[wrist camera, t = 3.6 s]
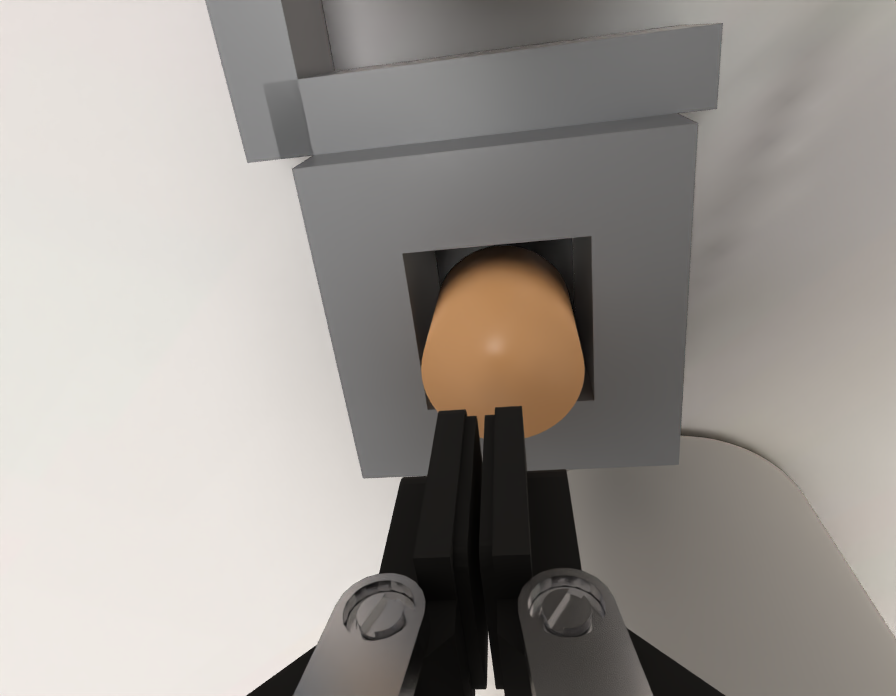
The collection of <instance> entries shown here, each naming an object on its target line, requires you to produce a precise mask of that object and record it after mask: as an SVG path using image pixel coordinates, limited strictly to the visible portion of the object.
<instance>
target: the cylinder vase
mask: <svg viewBox="0 0 896 696" xmlns="http://www.w3.org/2000/svg"><path fill="white" fill-rule="evenodd" d="M567 476H568V483H569V489H570V496H571V502H572V509H573V515H574V522H575V528H576V535H577V541H578V548H579V554H580V561H581V567H582V571H585V572H587V573H589V574H591V575H593V576H595V577H597V578H598V579H600V580H601V581H602V582H603V583H604V584H605V585H606V586H607V587H608V588H609V590H610V591H611V593H612V595H613V596H614V598H615V601H616V603H617V606H618V608H619V611H620V613H621V616H622V618H623V621H624V623H625V626H626V628H628V629H629V630H631V631H632V632H634V633H635V634H637V635H638V636H640V637H641V638H642V639H644V640H645V641H647V642H648V643H650V644H651V645H653V646H654V647H656V648H657V649H658V650H660V651H661V652H663V653H664V654H666V655H667V656H669V657H670V658H672V659H673V660H674V661H676V662H677V663H679V664H680V665H682V666H683V667H685V668H686V669H688V670H689V671H691V672H692V673H693V674H695V675H696V676H698V677H699V678H701V679H702V680H704V681H705V682H707V683H708V684H709V685H711V686H712V687H714V688H715V689H717V690H718V691H720V692H721V693H723V694H724V695H725V696H896V638H895V637H894V635H893V634H892V632H891V630H890V629H889V627H888V626H887V624H886V623H885V621H884V619H883V618H882V616H881V615H880V613H879V612H878V610H877V609H876V607H875V605H874V604H873V602H872V601H871V599H870V598H869V596H868V594H867V593H866V591H865V590H864V588H863V587H862V585H861V584H860V582H859V580H858V579H857V577H856V576H855V574H854V573H853V571H852V569H851V568H850V566H849V565H848V563H847V562H846V560H845V558H844V557H843V555H842V554H841V552H840V551H839V549H838V548H837V546H836V544H835V543H834V541H833V540H832V538H831V537H830V535H829V533H828V532H827V530H826V529H825V527H824V526H823V524H822V523H821V521H820V519H819V518H818V516H817V515H816V513H815V512H814V510H813V508H812V507H811V505H810V504H809V502H808V501H807V499H806V498H805V496H804V494H803V493H802V492H801V490H800V489H799V488H798V486H797V485H796V484H795V483H794V482H793V481H792V480H791V479H790V478H789V477H788V476H787V475H786V474H785V473H784V472H783V471H782V470H780V469H779V468H778V467H776V466H775V465H774V464H772V463H771V462H769V461H768V460H766V459H765V458H763V457H761V456H759V455H757V454H755V453H753V452H751V451H749V450H747V449H744V448H742V447H739V446H736V445H733V444H730V443H727V442H723V441H719V440H714V439H709V438H703V437H693V436H680V453H679V465H666V466H642V467H619V468H595V469H572V470H568V471H567Z"/></svg>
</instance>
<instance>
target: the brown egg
mask: <svg viewBox="0 0 896 696" xmlns="http://www.w3.org/2000/svg"><path fill="white" fill-rule="evenodd" d="M421 373H422V381H423V385H424V389H425V391H426V394H427V396H428V398H429V400H430V402H431V403H432V405H433V406H434V408H435V409H436V410H437V412H438V411H445V410H461V409H466V412H467V416H477V420H478V428H479V437H480V438H484V419H485V415H495V407H509V406H522V412H523V425H524V437H525V438H528V437H531V436H534V435H537V434H539V433H541V432H543V431H546V430H547V429H549V428H551V427H552V426H554V425H555V424H557V423H558V422H559V421H560V420H562V419H563V418H564V417H565V416H566V415H567V414H568V412H569V411H570V410H571V409H572V407H573V406H574V404H575V403H576V401H577V399H578V397H579V395H580V392H581V389H582V386H583V382H584V373H585V367H584V358H583V354H582V349H581V345H580V341H579V336H578V332H577V328H576V324H575V319H574V315H573V311H572V306H571V302H570V298H569V294H568V290H567V287H566V284H565V282H564V280H563V278H562V276H561V275H560V273H559V272H558V271H557V269H556V268H555V267H554V266H553V265H552V264H551V263H550V262H549V261H548V260H546V259H545V258H543V257H542V256H541V255H539V254H537V253H535V252H533V251H530V250H528V249H525V248H521V247H516V246H507V245H505V246H492V247H487V248H484V249H480V250H478V251H475V252H473V253H471V254H469V255H468V256H466V257H464V258H463V259H462V260H461V261H459V262H458V263H457V264H456V265H455V266H454V267H453V268H452V269H451V270H450V272H449V273H448V275H447V276H446V278H445V280H444V281H443V283H442V286H441V289H440V292H439V296H438V299H437V303H436V307H435V311H434V315H433V318H432V322H431V326H430V330H429V333H428V337H427V341H426V345H425V348H424V352H423V357H422V365H421Z"/></svg>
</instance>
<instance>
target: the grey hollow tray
mask: <svg viewBox="0 0 896 696" xmlns="http://www.w3.org/2000/svg"><path fill="white" fill-rule="evenodd" d="M205 1H206V5H207V9H208V13H209V17H210V21H211V24H212V28H213V32H214V36H215V40H216V44H217V47H218V51H219V55H220V59H221V63H222V67H223V71H224V74H225V78H226V82H227V86H228V90H229V94H230V97H231V101H232V105H233V109H234V113H235V117H236V120H237V124H238V128H239V132H240V136H241V140H242V144H243V147H244V151H245V155H246V159H247V163H251V162H259V161H268V160H277V159H285V158H294V157H303V156H312V155H313V156H312V157H310V158H309V159H307V160H305V161H304V162H302V163H301V164H299V165H297V166H296V167H294V168H293V169H292V171H293V176H294V180H295V184H296V189H297V193H298V198H299V202H300V206H301V211H302V215H303V219H304V224H305V228H306V232H307V237H308V241H309V245H310V250H311V254H312V258H313V263H314V267H315V272H316V276H317V280H318V285H319V289H320V293H321V298H322V302H323V306H324V311H325V315H326V319H327V324H328V328H329V332H330V337H331V341H332V345H333V350H334V354H335V359H336V363H337V367H338V372H339V376H340V380H341V385H342V389H343V393H344V398H345V402H346V406H347V411H348V415H349V419H350V424H351V428H352V433H353V437H354V441H355V446H356V450H357V454H358V459H359V463H360V467H361V472H362V476H363V478H383V477H406V476H427V474H428V468H429V462H430V456H431V451H432V445H433V439H434V433H435V427H436V421H437V416H438V412H437V410H436V409H435V408H434V406H433V405H432V403H431V402H430V400H429V398H428V396H427V394H426V391H425V389H424V385H423V381H422V373H421V365H422V357H423V352H424V348H425V345H426V341H427V337H428V333H429V330H430V326H431V322H432V318H433V315H434V311H435V307H436V303H437V299H438V296H439V292H440V284H439V277H438V269H437V262H436V255H435V250H445V249H456V248H467V247H478V246H489V245H500V244H511V243H521V242H532V241H543V240H554V239H565V238H572V242H573V272H574V303H575V317H574V319H575V324H576V328H577V332H578V336H579V341H580V345H581V349H582V354H583V358H584V367H585V373H584V382H583V386H582V389H581V392H580V395H579V397H578V399H577V401H576V403H575V404H574V406H573V407H572V409H571V410H570V411H569V412H568V414H567V415H566V416H565V417H564V418H563V419H562V420H560V421H559V422H558V423H557V424H555V425H554V426H552V427H551V428H549V429H547V430H546V431H543V432H541V433H539V434H537V435H534V436H531V437H528V438H525V450H526V462H527V471H538V470H558V469H566V470H572V469H595V468H619V467H642V466H666V465H679V453H680V435H681V418H682V400H683V382H684V364H685V346H686V328H687V310H688V292H689V275H690V257H691V239H692V221H693V203H694V185H695V167H696V149H697V131H698V123H696V122H694V121H692V120H690V119H688V118H686V117H684V116H682V115H680V114H677V113H685V112H694V111H702V110H711V109H717V100H718V85H719V70H720V56H721V41H722V26H723V23H715V24H692V25H678V26H671V27H663V28H656V29H648V30H641V31H633V32H626V33H618V34H611V35H603V36H596V37H588V38H581V39H573V40H566V41H558V42H551V43H543V44H536V45H528V46H521V47H513V48H506V49H498V50H491V51H483V52H476V53H468V54H461V55H453V56H446V57H438V58H431V59H423V60H416V61H408V62H401V63H393V64H386V65H378V66H371V67H363V68H356V69H348V70H341V71H334V66H333V60H332V55H331V49H330V44H329V39H328V33H327V28H326V23H325V17H324V12H323V7H322V1H321V0H205ZM483 441H484V438H480V445H481V454H482V462H483Z"/></svg>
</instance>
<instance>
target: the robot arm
mask: <svg viewBox="0 0 896 696" xmlns="http://www.w3.org/2000/svg"><path fill="white" fill-rule="evenodd" d="M488 633H489V640H490V648H491V655H492V663H493V670H494V678H495V685H496V689H504V693H505V696H725V695H724V694H723V693H721V692H720V691H718V690H717V689H715V688H714V687H712V686H711V685H709V684H708V683H707V682H705V681H704V680H702V679H701V678H699V677H698V676H696V675H695V674H693V673H692V672H691V671H689V670H688V669H686V668H685V667H683V666H682V665H680V664H679V663H677V662H676V661H674V660H673V659H672V658H670V657H669V656H667V655H666V654H664V653H663V652H661V651H660V650H658V649H657V648H656V647H654V646H653V645H651V644H650V643H648V642H647V641H645V640H644V639H642V638H641V637H640V636H638V635H637V634H635V633H634V632H632V631H631V630H629V629H628V628H626V626H625V623H624V621H623V618H622V616H621V613H620V611H619V608H618V606H617V603H616V601H615V598H614V596H613V595H612V593H611V591H610V590H609V588H608V587H607V586H606V585H605V584H604V583H603V582H602V581H601V580H600V579H598V578H597V577H595V576H593V575H591V574H589V573H587V572H585V571H582V567H581V561H580V554H579V548H578V541H577V535H576V528H575V522H574V515H573V509H572V502H571V496H570V489H569V483H568V476H567V471H566V469H558V470H538V471H527V462H526V450H525V437H524V425H523V412H522V406H509V407H495V415H485V419H484V441H483V462H482V454H481V445H480V437H479V428H478V420H477V416H467V412H466V409H461V410H445V411H438V416H437V421H436V427H435V433H434V439H433V445H432V451H431V456H430V462H429V468H428V474H427V476H417V477H403V478H402V479H401V482H400V485H399V490H398V494H397V498H396V503H395V507H394V511H393V516H392V520H391V524H390V529H389V533H388V537H387V542H386V546H385V550H384V555H383V559H382V563H381V568H380V572H379V574H377V575H373V576H369V577H366V578H364V579H362V580H360V581H359V582H357V583H355V584H353V585H352V586H351V587H350V588H349V589H348V590H346V591H345V592H344V593H343V595H342V596H341V598H340V599H339V601H338V602H337V604H336V605H335V608H334V610H333V612H332V614H331V616H330V618H329V620H328V622H327V625H326V627H325V629H324V631H323V633H322V635H321V637H320V639H319V641H318V644H317V645H316V646H315V647H313V648H312V649H310V650H309V651H308V652H306V653H305V654H303V655H302V656H301V657H299V658H298V659H297V660H295V661H294V662H292V663H291V664H290V665H288V666H287V667H285V668H284V669H283V670H281V671H280V672H279V673H277V674H276V675H274V676H273V677H272V678H270V679H269V680H267V681H266V682H265V683H263V684H262V685H261V686H259V687H258V688H256V689H255V690H254V691H252V692H251V693H249V694H248V695H247V696H475V689H486V688H487V658H488Z"/></svg>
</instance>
